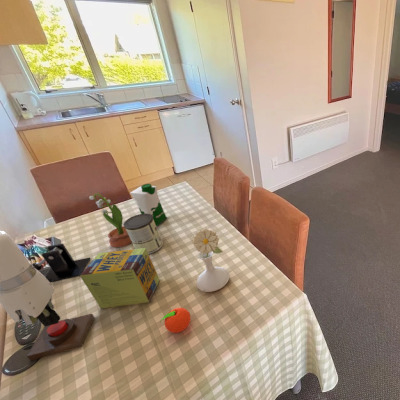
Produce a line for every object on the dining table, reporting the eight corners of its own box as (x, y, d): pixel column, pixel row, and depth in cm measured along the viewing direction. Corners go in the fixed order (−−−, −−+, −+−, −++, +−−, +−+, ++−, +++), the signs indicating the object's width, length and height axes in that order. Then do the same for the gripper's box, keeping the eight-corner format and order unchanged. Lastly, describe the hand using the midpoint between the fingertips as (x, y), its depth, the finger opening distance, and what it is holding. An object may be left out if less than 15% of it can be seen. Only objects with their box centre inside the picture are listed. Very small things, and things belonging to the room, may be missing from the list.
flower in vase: (190, 289, 94) (169, 234, 82) (212, 267, 104) (196, 214, 91) (220, 300, 90) (203, 243, 78) (240, 276, 100) (228, 221, 87)
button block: (30, 360, 74) (22, 352, 72) (49, 329, 82) (42, 321, 80) (82, 346, 77) (75, 338, 75) (95, 317, 85) (89, 309, 83)
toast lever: (34, 274, 97) (24, 270, 95) (39, 268, 100) (30, 264, 98) (60, 255, 97) (51, 250, 95) (64, 250, 100) (55, 245, 98)
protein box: (150, 302, 90) (133, 269, 82) (100, 309, 88) (78, 275, 80) (160, 279, 99) (146, 247, 91) (115, 284, 97) (97, 252, 89)
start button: (47, 338, 75) (43, 334, 74) (54, 326, 79) (51, 322, 78) (64, 334, 76) (61, 330, 76) (70, 322, 80) (67, 318, 79)
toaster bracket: (42, 286, 97) (23, 262, 91) (55, 267, 105) (39, 244, 99) (81, 277, 100) (66, 253, 94) (91, 260, 108) (78, 237, 102)
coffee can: (133, 247, 115) (120, 220, 108) (158, 236, 121) (148, 210, 114) (139, 258, 109) (126, 231, 101) (166, 246, 115) (156, 220, 108)
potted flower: (101, 247, 115) (74, 197, 102) (120, 233, 123) (96, 186, 110) (126, 250, 113) (100, 200, 100) (143, 236, 121) (121, 187, 109)
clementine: (163, 342, 78) (155, 327, 74) (165, 323, 83) (158, 308, 80) (193, 332, 80) (187, 317, 77) (192, 314, 86) (187, 299, 82)
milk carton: (158, 227, 127) (143, 190, 117) (141, 225, 128) (125, 189, 118) (169, 216, 135) (157, 181, 125) (153, 215, 136) (139, 180, 126)
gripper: (13, 260, 71) (50, 305, 81) (-28, 304, 59) (21, 351, 69) (48, 253, 73) (79, 298, 83) (15, 295, 61) (56, 342, 71)
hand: (53, 322), depth 76 cm, fingers closed
